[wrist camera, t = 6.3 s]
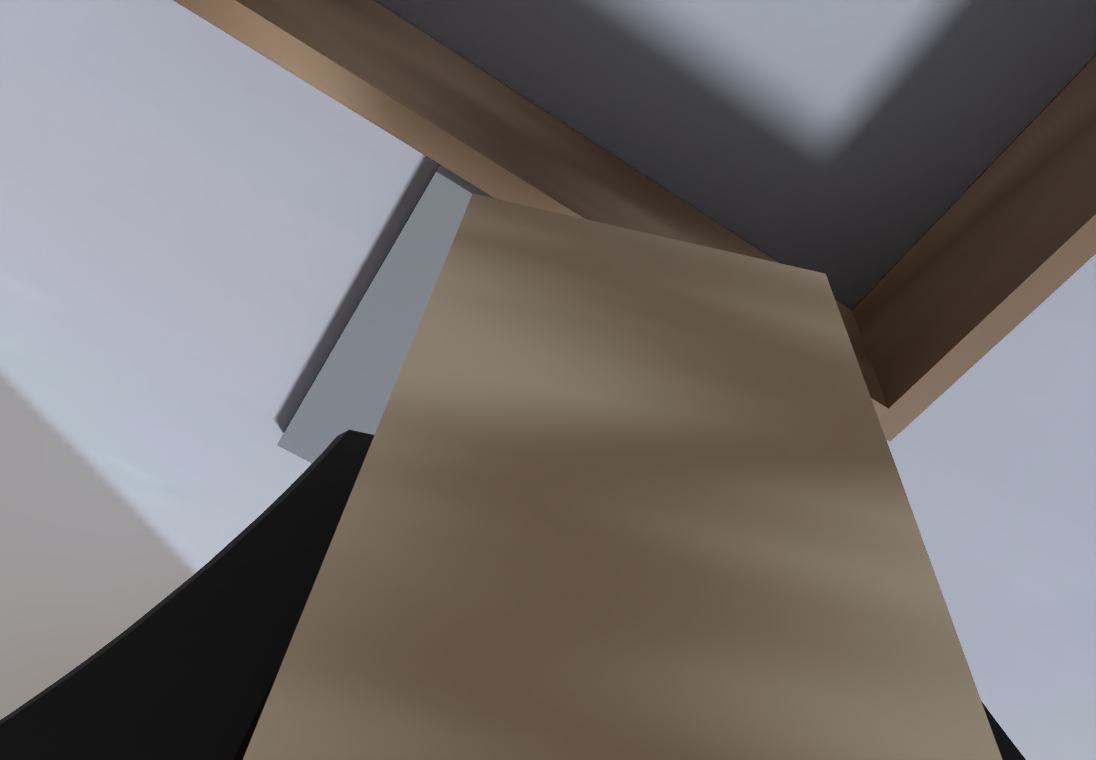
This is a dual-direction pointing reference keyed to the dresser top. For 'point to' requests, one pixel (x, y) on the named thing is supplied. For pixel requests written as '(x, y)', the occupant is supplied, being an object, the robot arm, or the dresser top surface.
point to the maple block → (624, 527)
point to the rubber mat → (381, 324)
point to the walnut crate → (641, 204)
